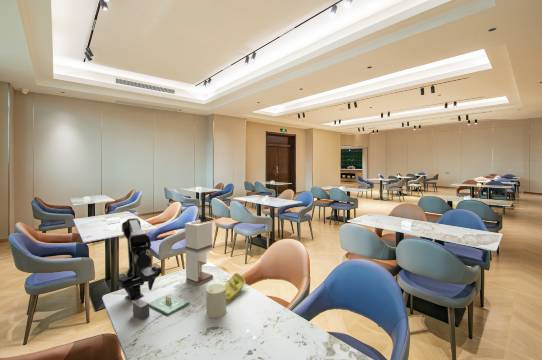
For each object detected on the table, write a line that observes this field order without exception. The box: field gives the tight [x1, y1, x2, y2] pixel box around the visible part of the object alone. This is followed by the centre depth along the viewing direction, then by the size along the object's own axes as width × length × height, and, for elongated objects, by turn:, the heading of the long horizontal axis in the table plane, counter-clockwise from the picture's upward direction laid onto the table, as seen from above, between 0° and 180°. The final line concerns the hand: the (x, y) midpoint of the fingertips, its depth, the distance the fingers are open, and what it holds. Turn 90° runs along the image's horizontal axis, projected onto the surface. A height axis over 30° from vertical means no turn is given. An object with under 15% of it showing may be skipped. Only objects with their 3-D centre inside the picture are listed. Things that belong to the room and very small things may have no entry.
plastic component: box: [223, 272, 246, 303], centre depth 142 cm, size 20×7×10 cm
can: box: [205, 283, 227, 319], centre depth 123 cm, size 9×9×12 cm
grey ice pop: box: [131, 299, 150, 321], centre depth 122 cm, size 10×4×6 cm, turn 57°
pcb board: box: [148, 293, 190, 316], centre depth 131 cm, size 16×12×4 cm
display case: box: [184, 219, 214, 286], centre depth 158 cm, size 11×11×35 cm
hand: (140, 294), depth 120 cm, fingers open, 9 cm apart
